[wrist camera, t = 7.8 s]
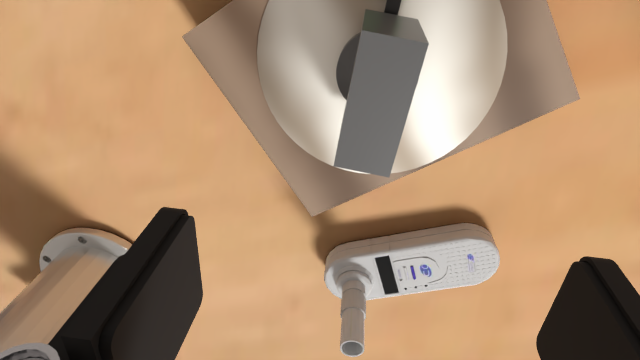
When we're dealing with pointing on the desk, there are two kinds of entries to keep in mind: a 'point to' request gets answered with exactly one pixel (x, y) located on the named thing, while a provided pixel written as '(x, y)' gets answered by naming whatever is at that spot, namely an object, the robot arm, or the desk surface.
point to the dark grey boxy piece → (378, 88)
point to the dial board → (429, 97)
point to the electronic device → (405, 270)
